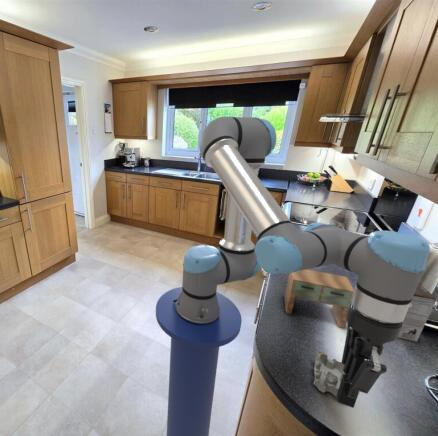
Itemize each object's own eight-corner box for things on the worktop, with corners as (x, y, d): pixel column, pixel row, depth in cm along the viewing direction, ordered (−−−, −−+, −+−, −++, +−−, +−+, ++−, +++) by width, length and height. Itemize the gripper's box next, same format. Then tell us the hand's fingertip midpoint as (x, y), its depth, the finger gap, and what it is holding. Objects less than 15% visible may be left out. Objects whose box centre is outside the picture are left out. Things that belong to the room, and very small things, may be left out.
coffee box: (378, 318, 85) (392, 277, 80) (401, 322, 82) (418, 281, 78) (391, 336, 77) (408, 292, 72) (418, 342, 74) (438, 297, 69)
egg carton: (314, 358, 69) (317, 347, 67) (348, 374, 64) (352, 362, 63) (310, 387, 60) (313, 374, 59) (348, 406, 56) (353, 393, 55)
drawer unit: (286, 313, 87) (293, 279, 82) (284, 297, 95) (290, 266, 91) (344, 328, 80) (356, 292, 75) (336, 310, 88) (346, 276, 84)
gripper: (421, 342, 39) (378, 442, 46) (386, 298, 50) (356, 383, 57) (362, 328, 42) (330, 423, 49) (342, 289, 53) (318, 371, 60)
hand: (344, 401), depth 53 cm, fingers closed
